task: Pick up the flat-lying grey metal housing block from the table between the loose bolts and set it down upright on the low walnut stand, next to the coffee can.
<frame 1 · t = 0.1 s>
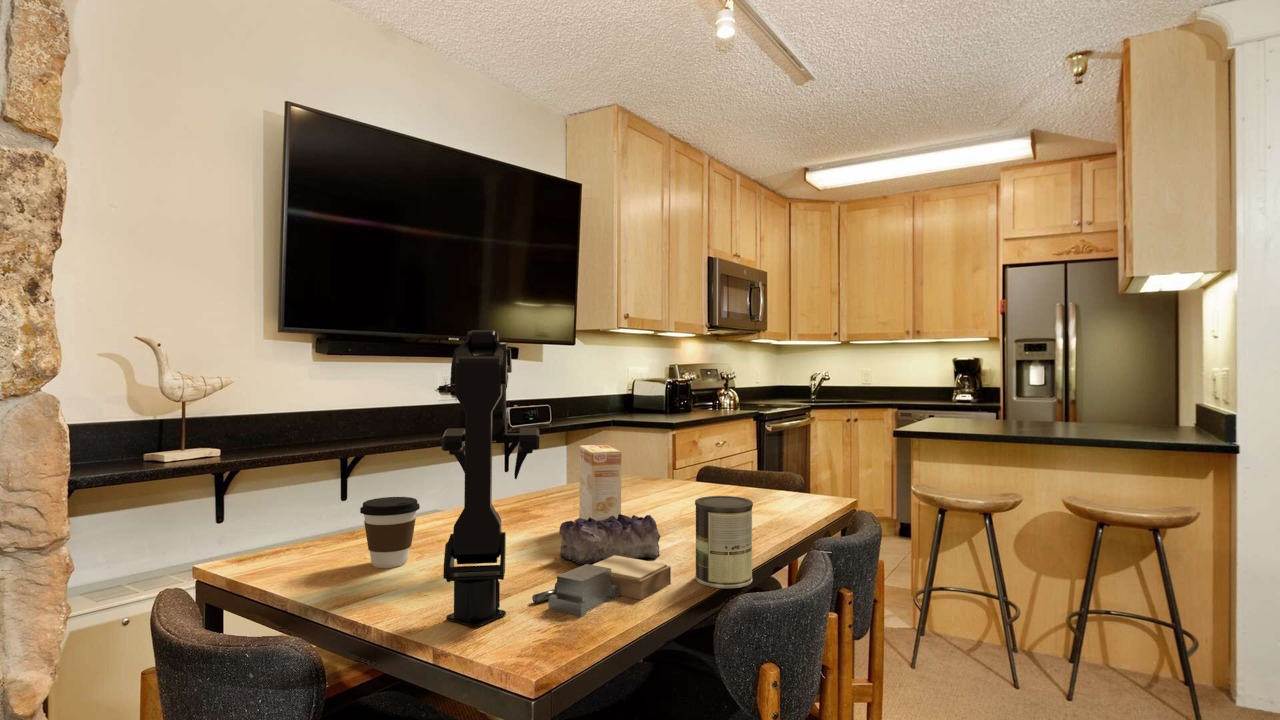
hand: (492, 478, 138), 15 cm above the table, fingers open, 9 cm apart
housing: (584, 603, 110), on the table
coffee cup: (389, 564, 132), on the table
coffeecake box: (599, 533, 158), on the table
bolt b: (547, 599, 112), on the table
coffee can: (723, 580, 123), on the table
geode: (611, 559, 137), on the table
bolt a: (579, 584, 120), on the table
stand: (626, 585, 119), on the table
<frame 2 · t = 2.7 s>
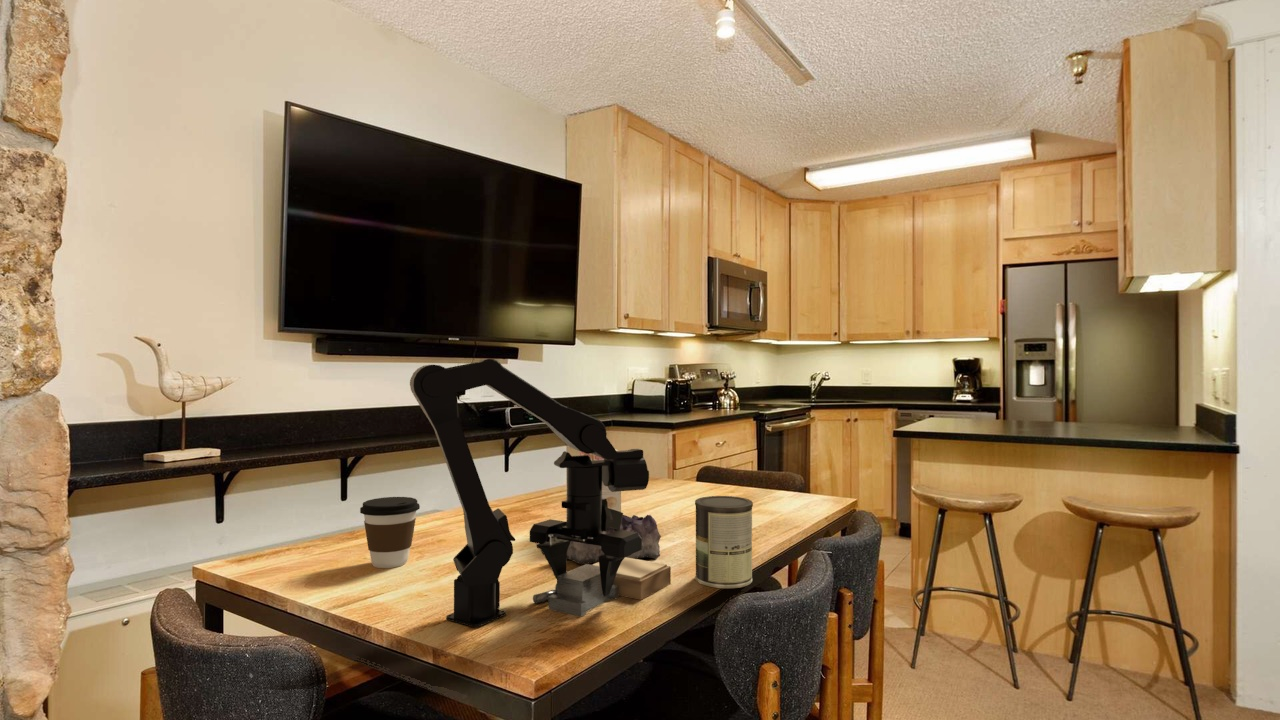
hand: (584, 590, 110), 2 cm above the table, fingers open, 8 cm apart
bolt b: (547, 599, 112), on the table, tilted 9°, touching gripper
everything else where it was.
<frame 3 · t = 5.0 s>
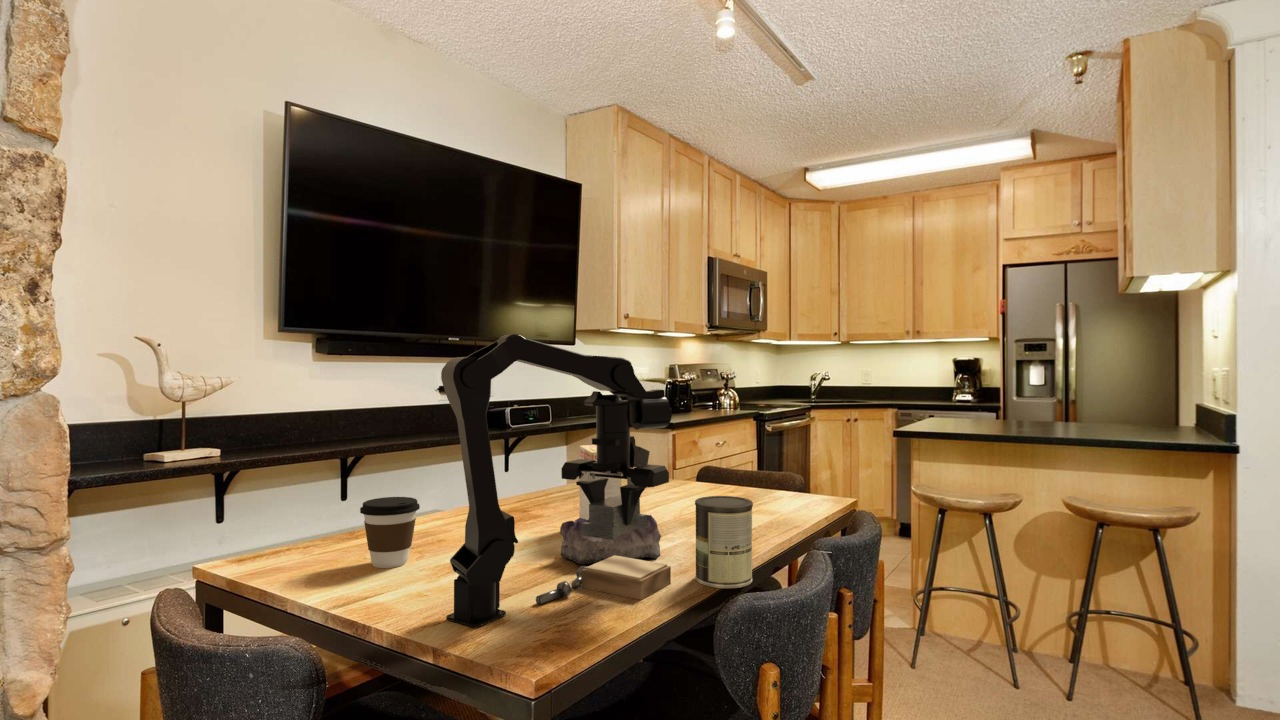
hand: (614, 523, 116), 12 cm above the table, fingers closed on housing, 5 cm apart
housing: (615, 530, 116), point 10 cm above the table, touching gripper
bolt b: (548, 598, 112), on the table, tilted 37°
everything else where it was.
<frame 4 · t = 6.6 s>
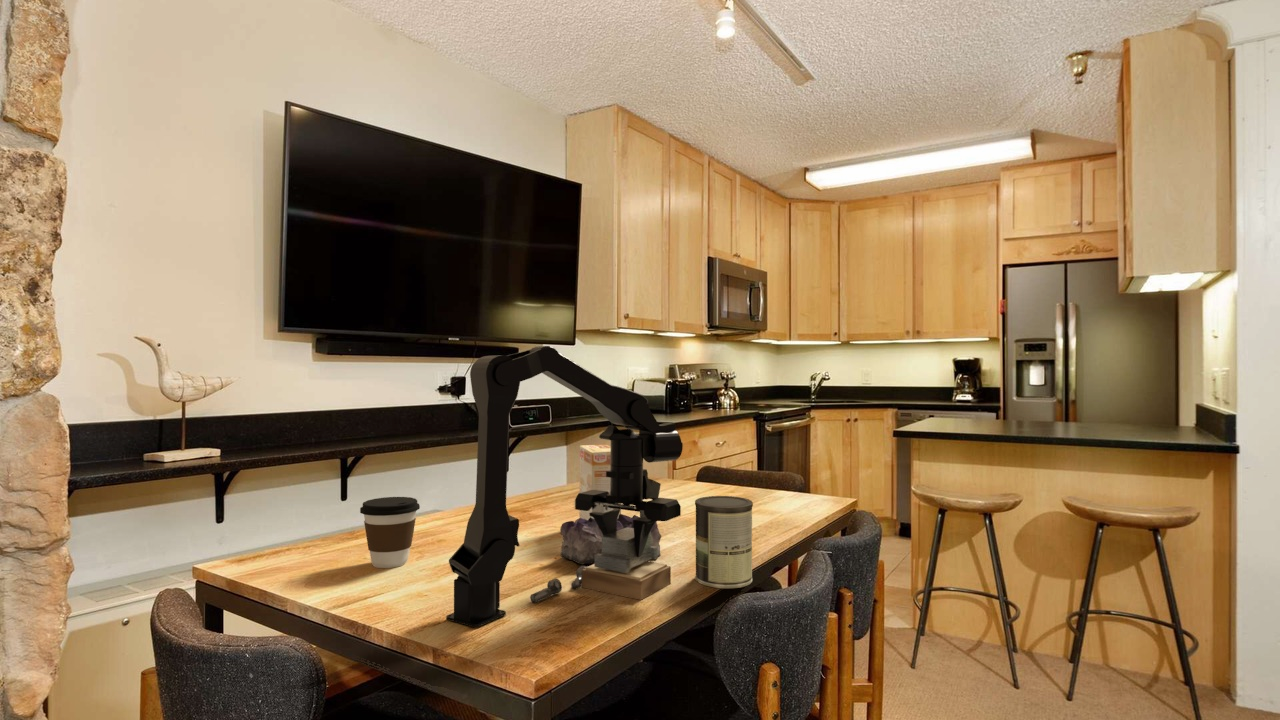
hand: (626, 554, 119), 5 cm above the table, fingers closed on housing, 5 cm apart
housing: (626, 562, 119), point 4 cm above the table, touching gripper
bolt b: (547, 596, 112), point 1 cm above the table, tilted 66°
everything else where it was.
when the fingers open (5 cm above the table, at t = 6.7 s): housing stays where it is, resting on stand.
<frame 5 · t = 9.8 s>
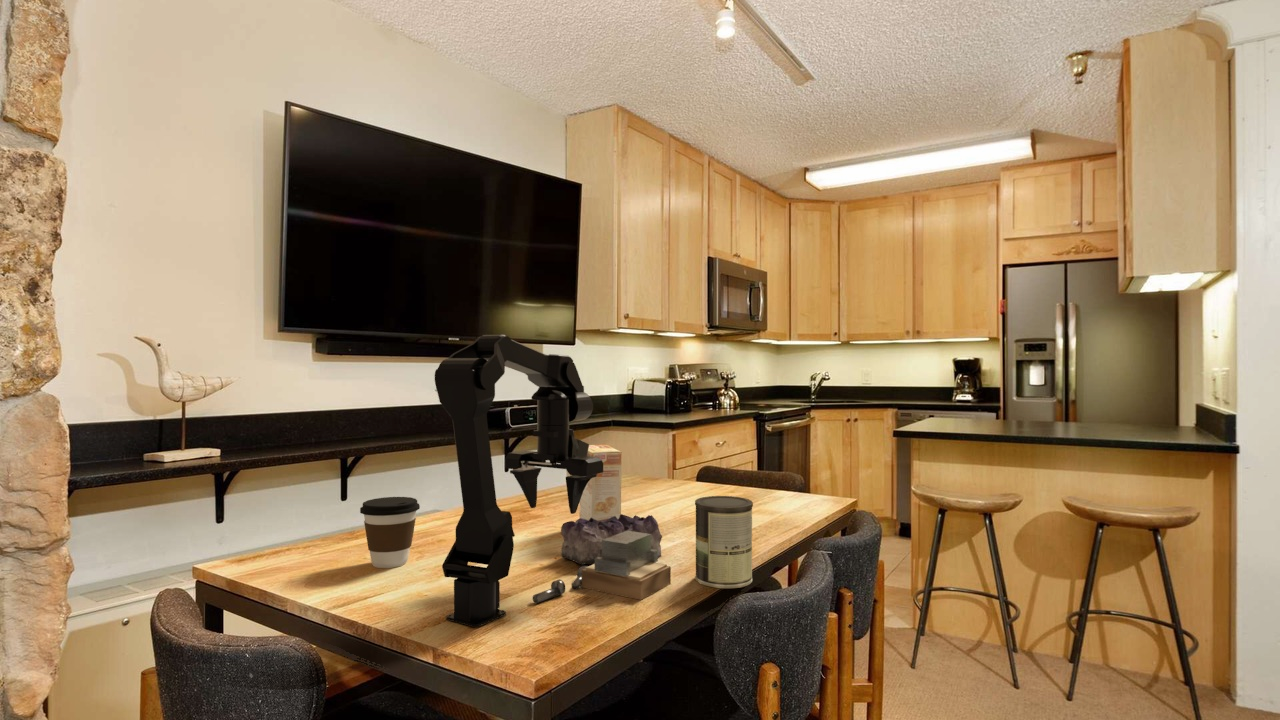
hand: (552, 510, 124), 12 cm above the table, fingers open, 9 cm apart
housing: (626, 565, 119), point 3 cm above the table, touching stand
bolt b: (548, 599, 112), on the table, tilted 31°
everything else where it was.
at the end: housing inside the target area on the stand (0.1 cm from its centre), point 3.4 cm above the stand's base; housing tilted 0°; the gripper is holding nothing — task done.
